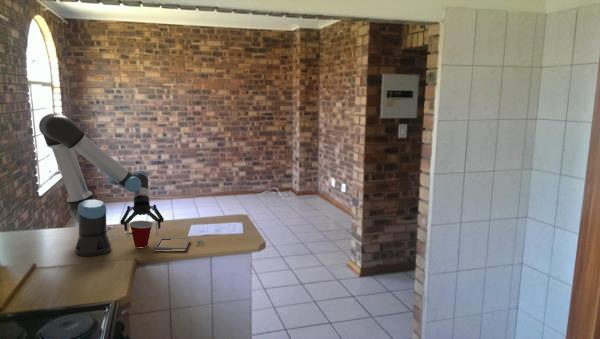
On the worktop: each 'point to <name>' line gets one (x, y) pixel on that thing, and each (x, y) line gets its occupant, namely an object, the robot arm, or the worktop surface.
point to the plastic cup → (141, 232)
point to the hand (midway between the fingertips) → (143, 235)
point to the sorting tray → (170, 247)
